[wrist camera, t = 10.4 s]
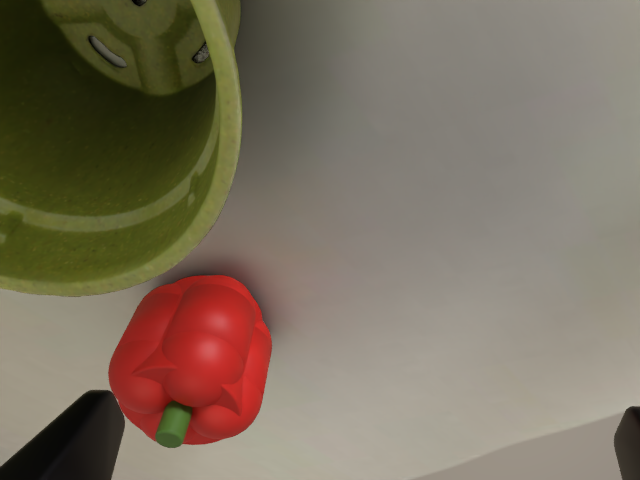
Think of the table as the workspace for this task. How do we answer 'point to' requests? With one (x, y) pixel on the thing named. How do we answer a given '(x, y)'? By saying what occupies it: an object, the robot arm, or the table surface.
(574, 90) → the table surface
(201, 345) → the pepper
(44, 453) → the robot arm
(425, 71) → the table surface
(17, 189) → the plant pot
